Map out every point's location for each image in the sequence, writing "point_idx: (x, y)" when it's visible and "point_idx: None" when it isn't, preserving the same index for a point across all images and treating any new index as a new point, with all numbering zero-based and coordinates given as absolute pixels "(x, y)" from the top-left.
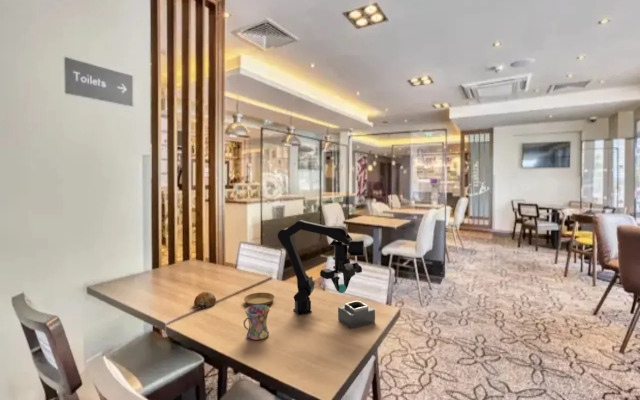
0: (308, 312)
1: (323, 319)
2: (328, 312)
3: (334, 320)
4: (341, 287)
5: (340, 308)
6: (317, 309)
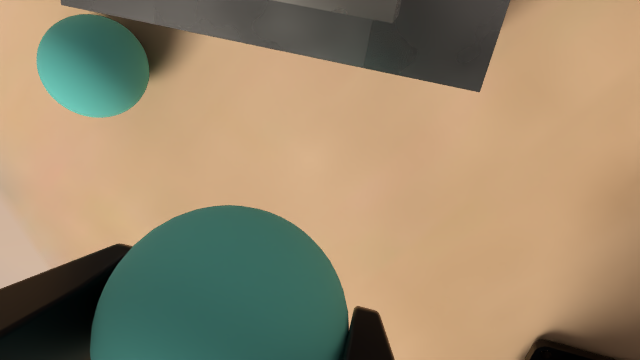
0: (578, 351)
1: (590, 163)
2: (413, 237)
3: (520, 61)
4: (268, 326)
5: (505, 12)
6: (443, 337)
